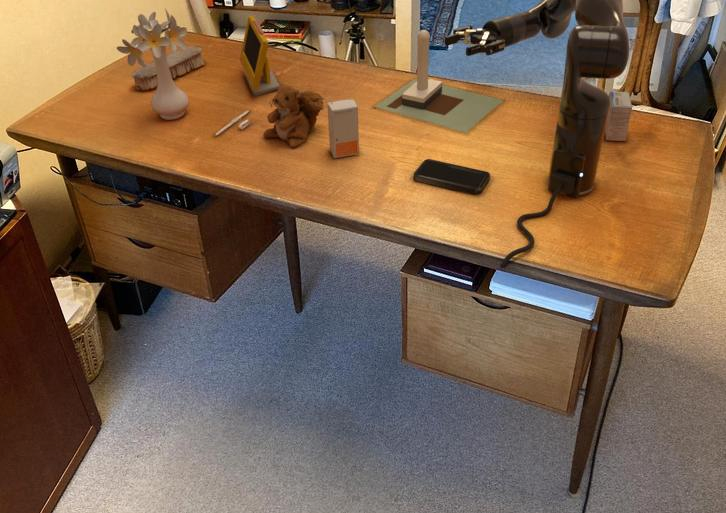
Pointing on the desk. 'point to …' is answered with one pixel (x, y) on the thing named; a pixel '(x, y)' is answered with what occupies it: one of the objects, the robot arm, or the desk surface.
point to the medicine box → (618, 116)
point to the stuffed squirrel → (293, 114)
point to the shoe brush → (177, 66)
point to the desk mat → (445, 107)
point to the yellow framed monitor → (257, 60)
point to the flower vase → (159, 61)
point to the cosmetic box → (343, 128)
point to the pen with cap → (241, 126)
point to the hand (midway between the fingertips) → (455, 46)
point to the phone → (452, 176)
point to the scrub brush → (422, 78)
